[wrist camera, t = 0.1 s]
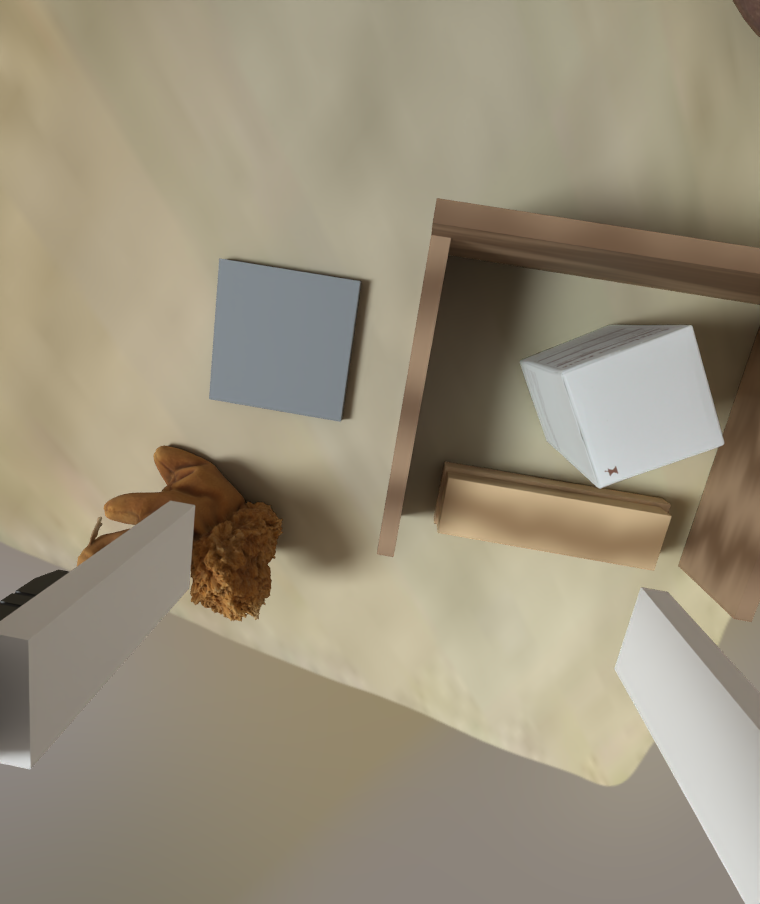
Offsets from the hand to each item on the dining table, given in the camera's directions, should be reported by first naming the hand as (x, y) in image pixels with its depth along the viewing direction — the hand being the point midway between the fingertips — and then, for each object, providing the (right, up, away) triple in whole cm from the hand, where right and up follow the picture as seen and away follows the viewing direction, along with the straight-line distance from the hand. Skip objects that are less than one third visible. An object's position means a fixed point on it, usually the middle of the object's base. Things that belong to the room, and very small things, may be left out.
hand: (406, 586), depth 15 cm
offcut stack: (+13, -1, +28) cm, 31 cm away
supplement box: (+15, +9, +26) cm, 31 cm away
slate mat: (-8, +13, +26) cm, 30 cm away
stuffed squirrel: (-15, -2, +31) cm, 34 cm away
